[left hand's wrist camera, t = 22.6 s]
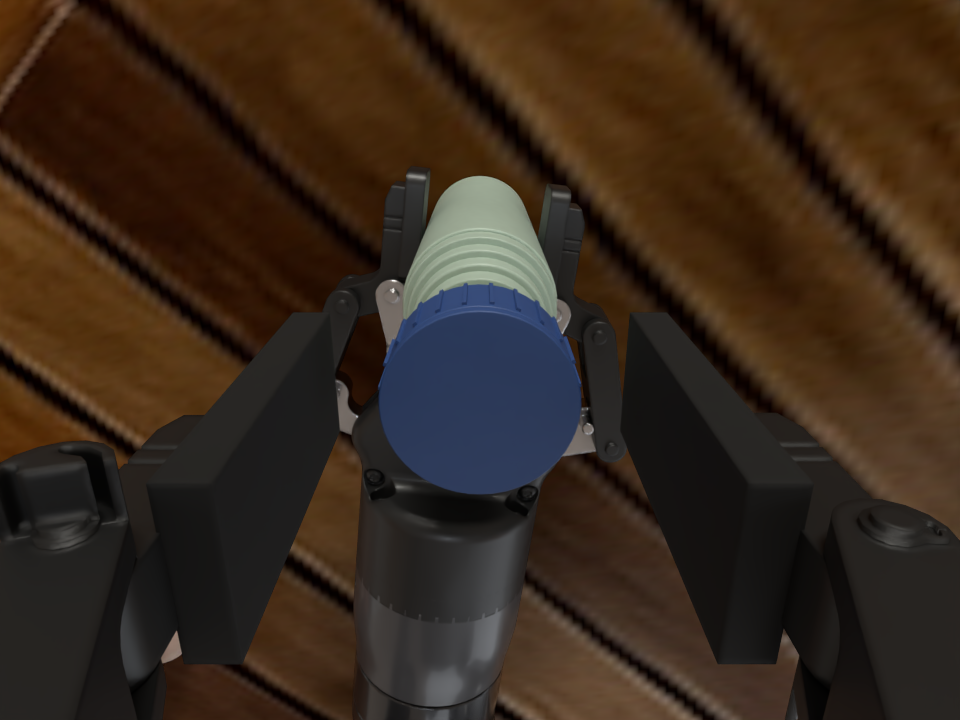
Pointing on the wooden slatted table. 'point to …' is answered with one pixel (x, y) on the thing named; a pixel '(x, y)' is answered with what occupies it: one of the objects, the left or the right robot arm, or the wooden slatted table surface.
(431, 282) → the bottle
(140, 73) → the wooden slatted table surface
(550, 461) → the cap
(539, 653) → the wooden slatted table surface
